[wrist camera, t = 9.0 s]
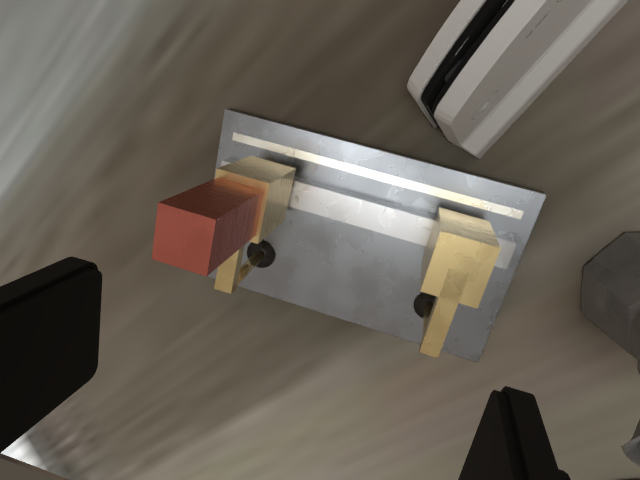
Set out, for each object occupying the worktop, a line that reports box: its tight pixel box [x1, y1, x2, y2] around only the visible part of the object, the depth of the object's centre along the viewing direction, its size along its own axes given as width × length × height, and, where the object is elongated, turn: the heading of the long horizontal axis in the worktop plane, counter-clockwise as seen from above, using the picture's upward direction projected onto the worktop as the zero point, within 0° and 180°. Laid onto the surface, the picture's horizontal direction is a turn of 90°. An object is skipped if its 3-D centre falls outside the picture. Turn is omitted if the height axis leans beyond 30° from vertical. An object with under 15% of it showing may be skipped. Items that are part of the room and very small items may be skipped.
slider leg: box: [152, 156, 296, 294], centre depth 31 cm, size 8×4×14 cm, turn 167°
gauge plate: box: [208, 109, 546, 362], centre depth 34 cm, size 14×24×9 cm, turn 77°
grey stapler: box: [407, 0, 628, 159], centre depth 28 cm, size 17×5×10 cm, turn 142°
